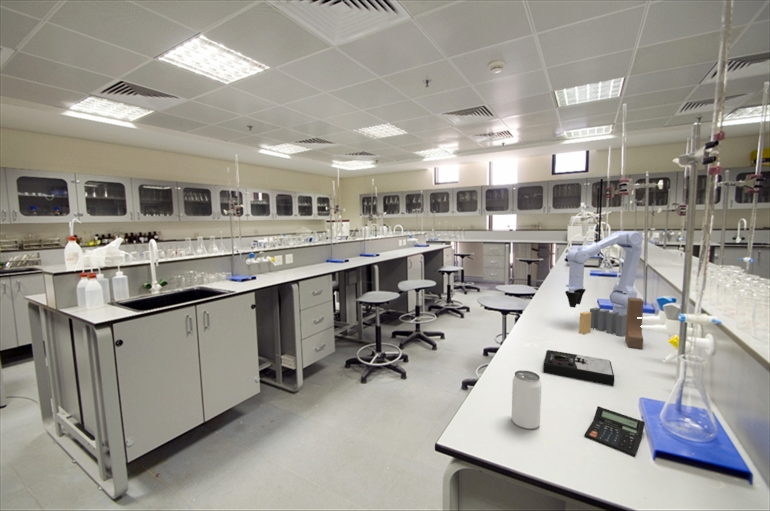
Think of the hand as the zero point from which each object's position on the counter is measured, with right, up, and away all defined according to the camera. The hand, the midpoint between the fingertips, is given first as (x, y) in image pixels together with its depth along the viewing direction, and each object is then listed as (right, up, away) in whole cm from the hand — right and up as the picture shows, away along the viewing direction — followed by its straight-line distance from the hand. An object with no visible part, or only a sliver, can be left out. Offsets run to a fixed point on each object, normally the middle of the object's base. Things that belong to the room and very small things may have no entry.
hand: (574, 305), depth 151 cm
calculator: (-34, -19, -75) cm, 85 cm away
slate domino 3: (+13, -11, -6) cm, 18 cm away
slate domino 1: (+9, -10, 0) cm, 14 cm away
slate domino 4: (+14, -11, -10) cm, 21 cm away
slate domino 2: (+11, -11, -3) cm, 15 cm away
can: (-53, -18, -70) cm, 90 cm away
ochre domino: (+1, -11, -6) cm, 13 cm away
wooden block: (+11, -13, -21) cm, 27 cm away
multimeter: (-24, -16, -43) cm, 52 cm away
